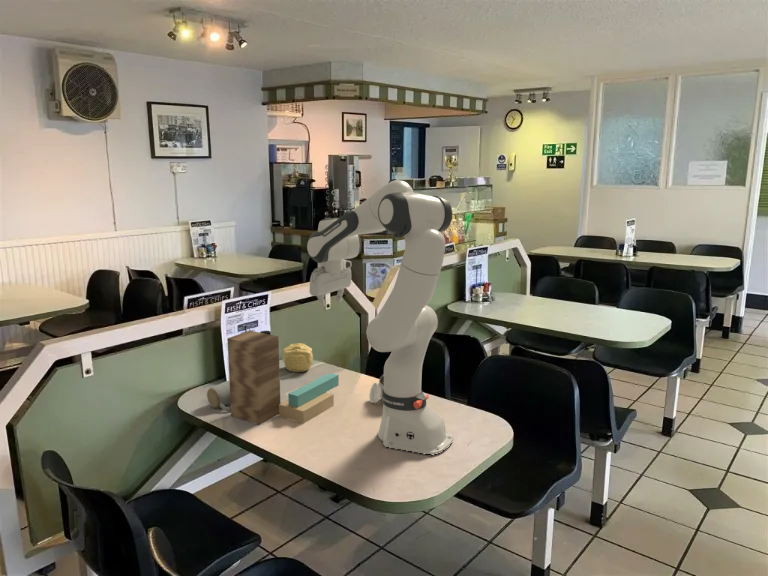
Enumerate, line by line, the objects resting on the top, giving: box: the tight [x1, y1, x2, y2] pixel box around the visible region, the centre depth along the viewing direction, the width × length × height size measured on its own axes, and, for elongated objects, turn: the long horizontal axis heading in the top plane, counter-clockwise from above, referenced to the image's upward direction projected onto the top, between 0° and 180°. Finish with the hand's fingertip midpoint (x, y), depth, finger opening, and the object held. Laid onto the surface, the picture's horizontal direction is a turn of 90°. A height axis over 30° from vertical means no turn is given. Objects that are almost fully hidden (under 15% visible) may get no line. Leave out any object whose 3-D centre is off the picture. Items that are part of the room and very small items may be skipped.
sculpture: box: [282, 342, 314, 373], centre depth 228 cm, size 12×12×11 cm
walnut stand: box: [227, 330, 282, 426], centre depth 186 cm, size 12×10×26 cm
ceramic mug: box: [206, 380, 231, 412], centre depth 194 cm, size 11×8×8 cm
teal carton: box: [287, 372, 340, 407], centre depth 194 cm, size 4×22×4 cm, turn 149°
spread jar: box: [369, 373, 384, 404], centre depth 198 cm, size 12×11×12 cm
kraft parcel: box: [278, 392, 335, 424], centre depth 191 cm, size 10×16×4 cm, turn 149°
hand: (331, 303), depth 205 cm, fingers open, 8 cm apart
